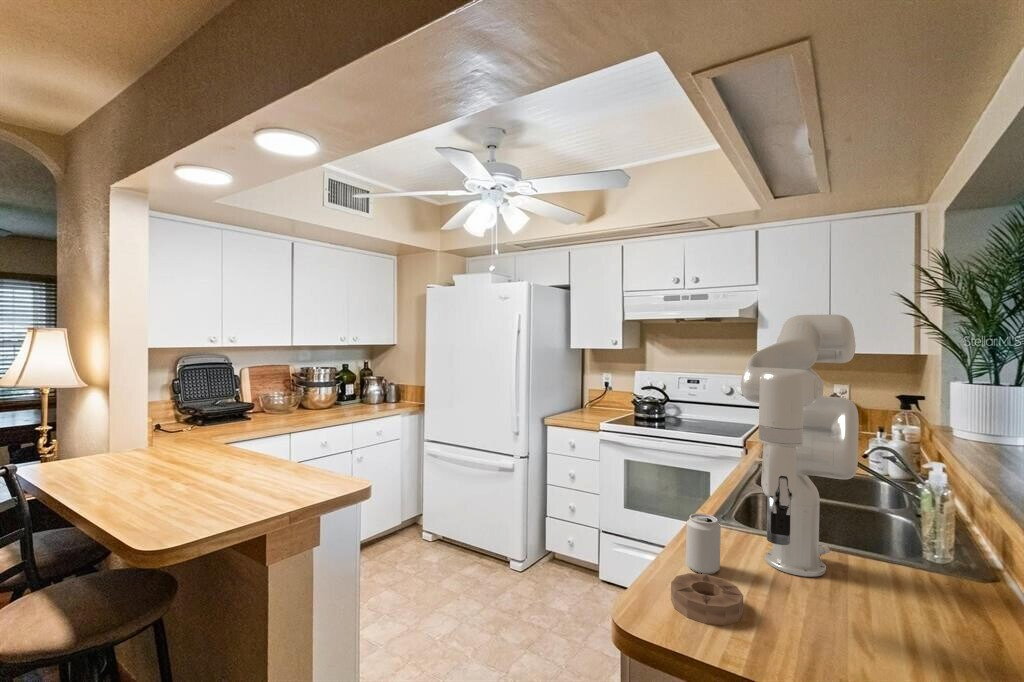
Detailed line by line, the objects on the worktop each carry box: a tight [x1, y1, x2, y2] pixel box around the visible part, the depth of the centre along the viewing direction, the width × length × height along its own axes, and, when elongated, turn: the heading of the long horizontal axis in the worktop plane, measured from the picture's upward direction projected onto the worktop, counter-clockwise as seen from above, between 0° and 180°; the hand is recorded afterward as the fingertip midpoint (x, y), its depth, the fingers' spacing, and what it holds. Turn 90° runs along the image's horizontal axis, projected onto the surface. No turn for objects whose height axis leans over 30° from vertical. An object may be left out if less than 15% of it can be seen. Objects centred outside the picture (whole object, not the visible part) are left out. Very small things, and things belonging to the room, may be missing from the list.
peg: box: [766, 493, 791, 545], centre depth 97 cm, size 4×4×9 cm
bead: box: [670, 572, 744, 626], centre depth 100 cm, size 13×13×4 cm
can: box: [685, 513, 722, 575], centre depth 117 cm, size 8×8×12 cm
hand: (778, 528), depth 97 cm, fingers closed on peg, 4 cm apart
